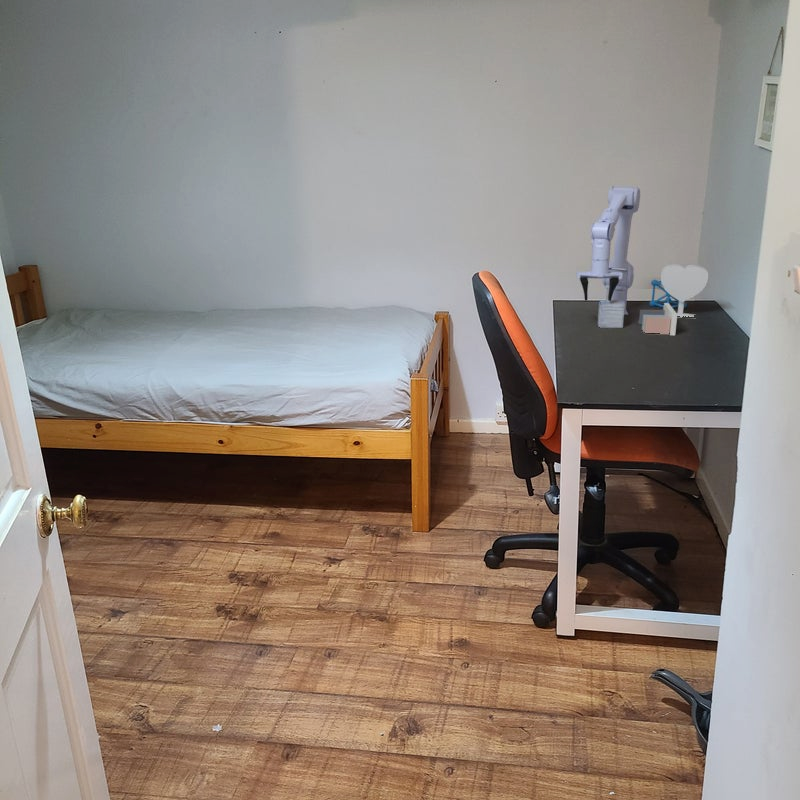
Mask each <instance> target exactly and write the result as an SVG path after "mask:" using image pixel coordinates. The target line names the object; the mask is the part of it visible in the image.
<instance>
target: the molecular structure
mask: <svg viewBox="0 0 800 800" xmlns="http://www.w3.org/2000/svg"><path fill="white" fill-rule="evenodd" d="M650 284H651V286H652V293H651V294H652V296H651V300H650V301H649V302H648V303H649V306H650V307H655V306H658V307H661V308H663V307H664V303H669V304H670V306H671V307H672V308H673V309H674V308H678V305H679V300H677V299H676V298H674V297H673V296H671V295H670V294H669V293H668V292H667V291H666V290H665V289H664V287H663V285H662V283H661V280H657V279H652V281H650ZM656 287H658V288H659V289H660V290H661V291H663V292H664V293H665V294H664V295H662V296H661V297H659V298H657V299H656V300H655V293H656ZM664 298H665V300H663V299H664ZM671 298H672V299H674V300H672V299H671ZM671 304H674V305H671ZM687 305H688V304H687V302H686V300H685V301H684V308H683V309H686V307H687Z"/></svg>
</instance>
